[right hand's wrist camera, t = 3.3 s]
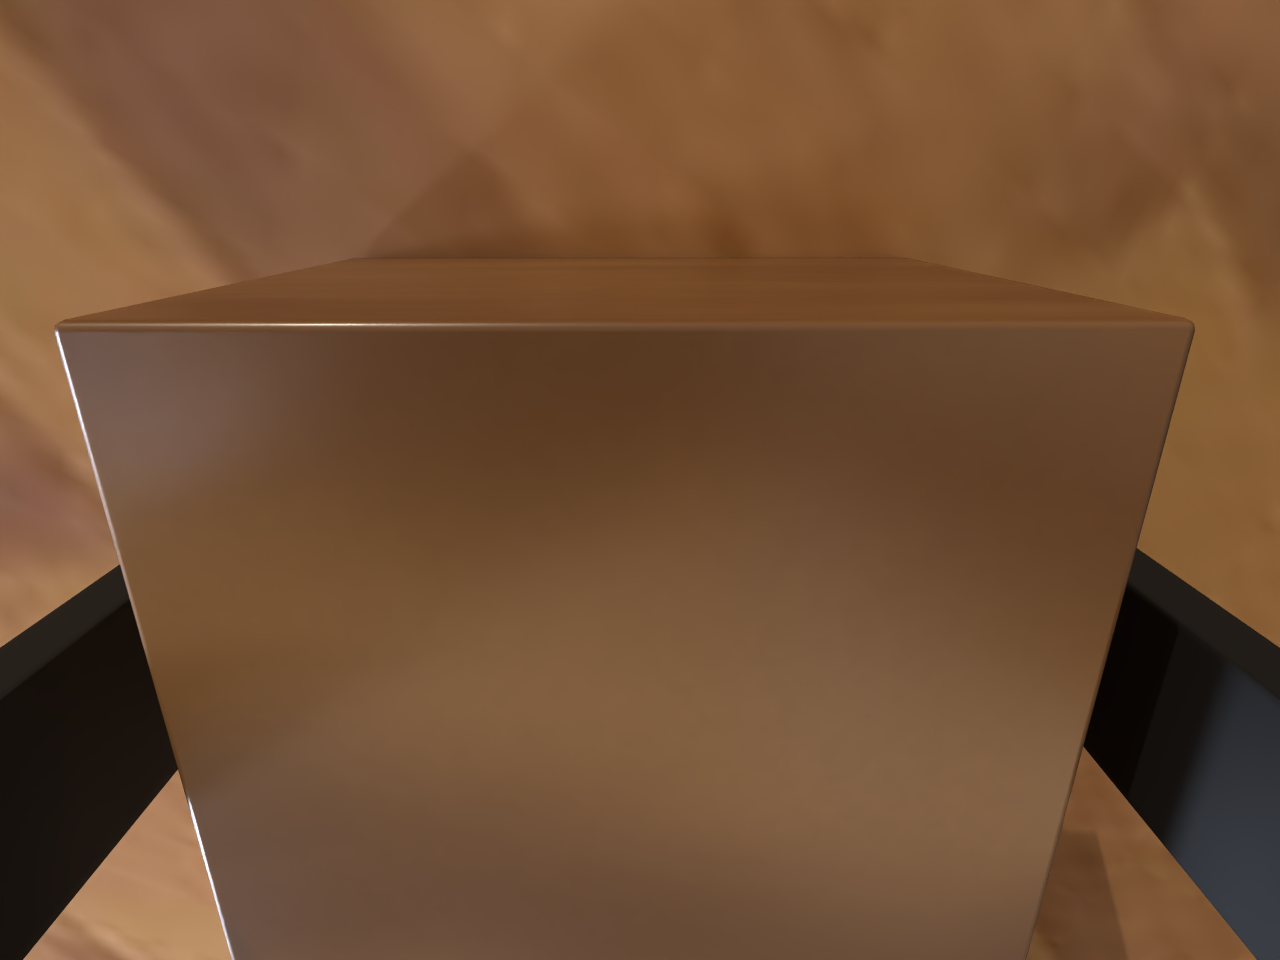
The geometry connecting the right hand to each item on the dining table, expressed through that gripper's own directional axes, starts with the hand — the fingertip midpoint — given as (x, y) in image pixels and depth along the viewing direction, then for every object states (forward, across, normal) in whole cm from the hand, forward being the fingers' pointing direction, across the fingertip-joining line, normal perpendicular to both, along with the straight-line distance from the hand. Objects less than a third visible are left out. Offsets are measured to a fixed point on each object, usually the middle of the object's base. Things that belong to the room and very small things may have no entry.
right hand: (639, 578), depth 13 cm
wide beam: (+3, 0, -30) cm, 30 cm away
